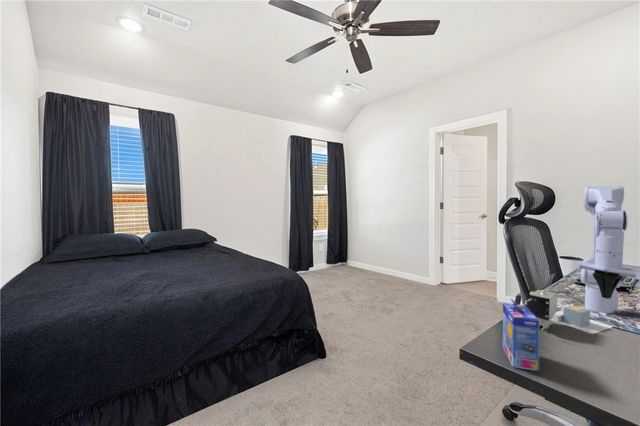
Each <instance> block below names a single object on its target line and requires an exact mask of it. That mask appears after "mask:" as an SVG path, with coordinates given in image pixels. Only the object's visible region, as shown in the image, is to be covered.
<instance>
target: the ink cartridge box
mask: <svg viewBox="0 0 640 426" xmlns="http://www.w3.org/2000/svg"><path fill="white" fill-rule="evenodd" d="M510 300H511V302H512V303H507V302H506V303H505V302H504V303H502V348H503V351H504V353H505V356H506V357H507V359H508V361H509V363H510V364H511V366H512V368H517V369H523V370H529V371H534V372H539V371H540V327H539V319H538V318H537V317H536V316H535V315H534V314H533V313H532V312H530V310H529V309H528V308H527V305H525V304H517V303H516V301H515V300H514V299H513V298H510Z"/></svg>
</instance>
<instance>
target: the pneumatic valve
mask: <svg viewBox="0 0 640 426" xmlns="http://www.w3.org/2000/svg"><path fill="white" fill-rule="evenodd" d="M557 296H558V292H554V291H549V290H546V289H539V288H538V289H537V290H535V291H533V290H531V292H529V299H528V300H527V301H526V307H527V308H528V309H529V310H530V312H532V313H533V314H534V315H535V316H536V317H537V318H538V319H539V328H541V329H540V331H542V330H544V329H545V330H548V329H549V328H550V326H551V322H552V320H551V319H552V318H553V315H554V314H555V313H556V312H557V302H558V297H557Z"/></svg>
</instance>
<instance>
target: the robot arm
mask: <svg viewBox="0 0 640 426" xmlns="http://www.w3.org/2000/svg"><path fill="white" fill-rule="evenodd" d="M583 193H584V194H583V203H584V205H583V207H584V210H585V211H587V212H588V213H590V214H591V217H592V257H590V258H587V259H585V260H584V261H575V262H576V263H575V264H576V265H575V267H576V269H581V270H580V271H581V272H580V281H581V282H580V283H582V284H585V291H584V309H588V310H590V311H591V312H592V311H593V312H597V313H602V314H613V313H614V312H615V311H616V312H621V311H619V310H618V309H619V292H618V291H617V289H619V288H620V287H621V286H622V285H621V284H622V279H623V278H624V277H627V278H632V279H635V280H639V281H640V271H639V270H636V269H632V268H631V269H630V268H627V267H623V261H624V260H623V259H624V244H625V243H624V239H625V231H627V229H628V222H629V221H628V218H629V217H628V212H627V211H626V209H625V210H623V209H622V205H623V203H624V199H625V188H624V187H623V186H622V185H614V186H612V185H610V186H606V185H605V186H589V185H588V186H586V187H584V191H583Z"/></svg>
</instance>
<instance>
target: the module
mask: <svg viewBox="0 0 640 426" xmlns="http://www.w3.org/2000/svg"><path fill="white" fill-rule="evenodd" d="M562 308H563V322H565V323H568V324H571V325H574V326H577V327H580V328H581V327H584V326H587V325H590V319H591V310H589V309H587V308H585V307H584V308H583V307H581V306H576V305H573V304H572V305H569V306H568V305H567V306H565V307H562Z"/></svg>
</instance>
